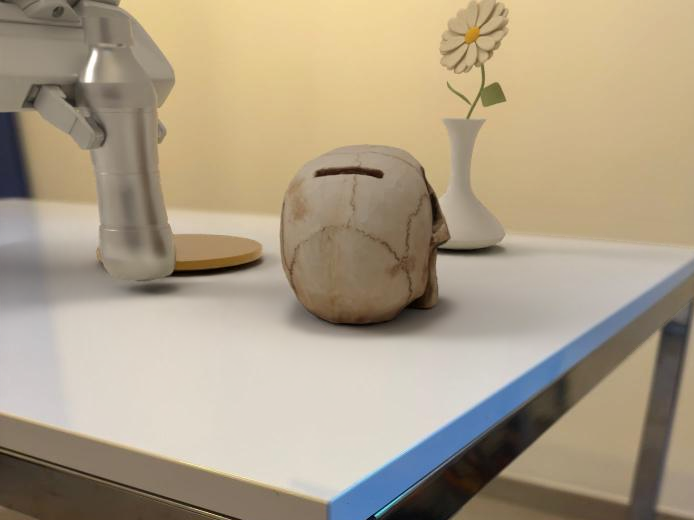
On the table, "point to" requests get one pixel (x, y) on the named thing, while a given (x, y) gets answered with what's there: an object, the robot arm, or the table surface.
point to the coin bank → (362, 234)
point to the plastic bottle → (125, 154)
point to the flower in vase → (470, 121)
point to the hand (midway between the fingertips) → (128, 141)
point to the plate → (211, 251)
